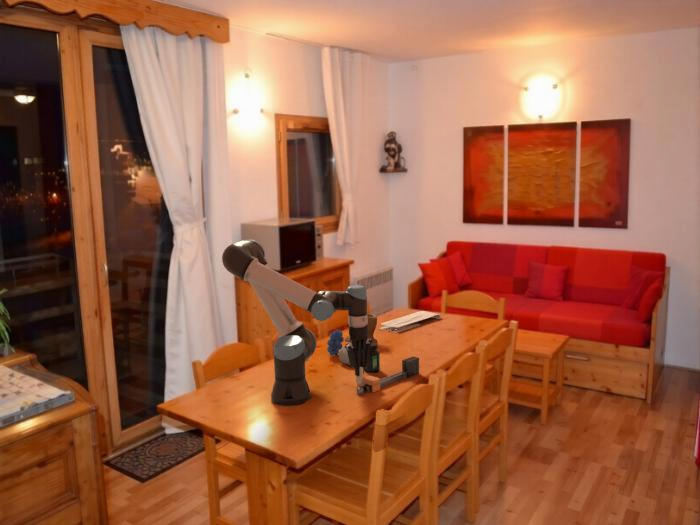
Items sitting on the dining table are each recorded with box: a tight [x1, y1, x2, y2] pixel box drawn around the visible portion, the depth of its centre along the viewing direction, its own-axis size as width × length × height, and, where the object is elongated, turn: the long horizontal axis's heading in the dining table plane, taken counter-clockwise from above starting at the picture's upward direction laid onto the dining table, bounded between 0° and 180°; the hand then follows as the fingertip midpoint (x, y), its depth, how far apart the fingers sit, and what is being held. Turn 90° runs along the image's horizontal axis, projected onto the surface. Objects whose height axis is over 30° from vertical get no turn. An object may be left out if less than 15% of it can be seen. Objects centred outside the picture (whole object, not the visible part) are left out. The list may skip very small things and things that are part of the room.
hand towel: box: [378, 310, 442, 334], centre depth 333 cm, size 12×4×40 cm
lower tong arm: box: [365, 356, 420, 394], centre depth 243 cm, size 30×1×7 cm, turn 133°
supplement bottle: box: [364, 343, 381, 374], centre depth 257 cm, size 7×7×12 cm
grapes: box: [326, 329, 345, 357], centre depth 281 cm, size 12×7×12 cm, turn 144°
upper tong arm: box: [356, 356, 417, 396], centre depth 242 cm, size 34×3×7 cm, turn 133°
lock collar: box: [356, 375, 381, 393], centre depth 238 cm, size 4×9×4 cm, turn 43°
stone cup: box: [344, 313, 378, 344], centre depth 298 cm, size 15×12×15 cm
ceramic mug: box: [338, 345, 350, 366], centre depth 268 cm, size 11×8×8 cm
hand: (359, 382), depth 238 cm, fingers closed
